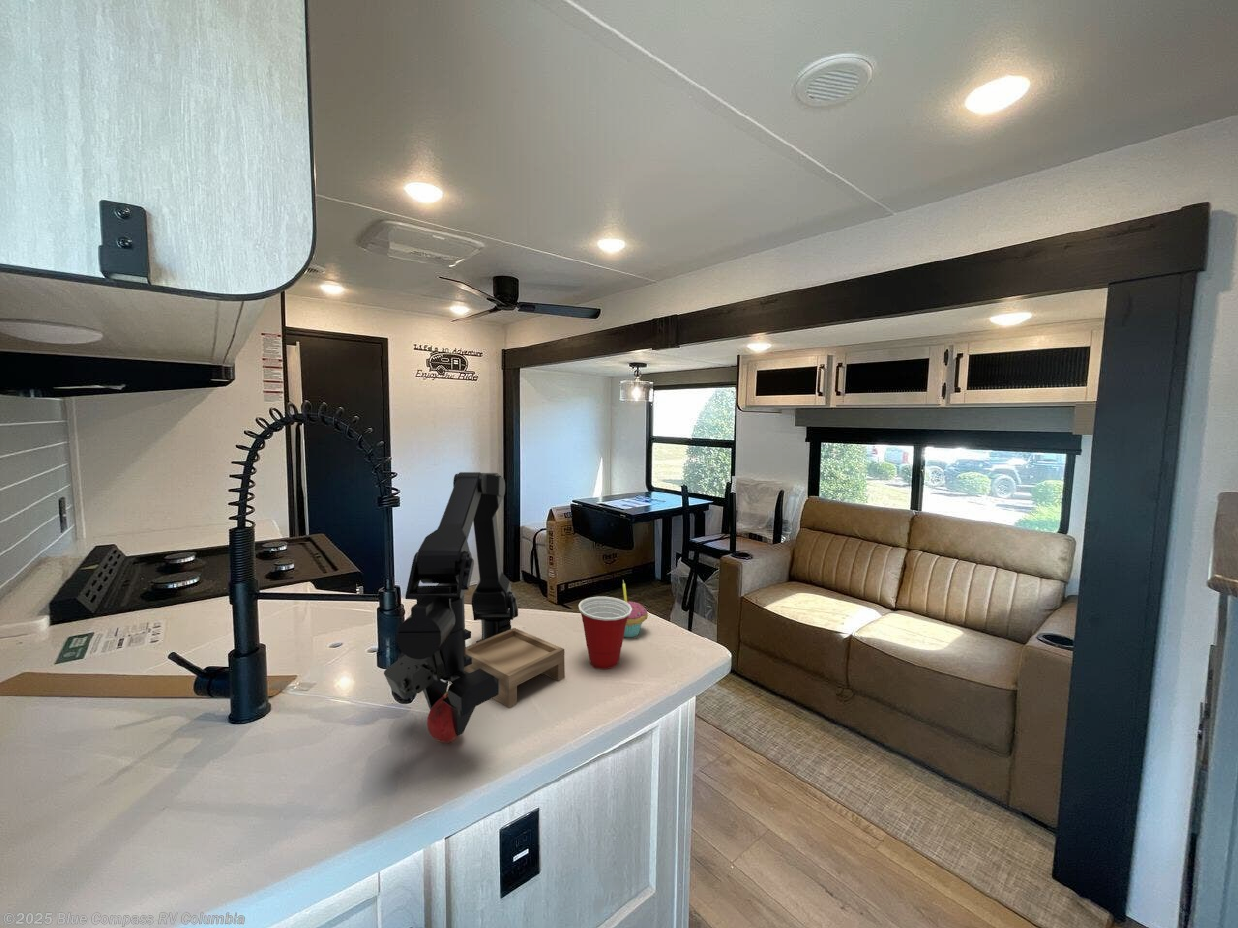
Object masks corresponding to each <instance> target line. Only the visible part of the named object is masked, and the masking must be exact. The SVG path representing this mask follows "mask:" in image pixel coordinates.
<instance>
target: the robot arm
mask: <svg viewBox="0 0 1238 928" xmlns="http://www.w3.org/2000/svg"><path fill="white" fill-rule="evenodd" d="M452 482H453V483H452V484H453V488H452V491H451V492H450V495H449V499H448V502H447V503H446V506H445V509H444V511H443V515H442V516H441V517H442V518H441V520H440V522H439V524H438V527H437V529H435V530H434V531H432V532H430V534H428V535H426V536H425V537H424V539H423V541H422V542H421V544H420V547H419V548H418V550H417V552H416V553H415V554H414V556H413V559H412V564H411V567H410V573H409V578H408V582H407V586H406V587H407V588H406V592H405V596H404V597H405V600H416V603H415V604H414V605H412V607H411V608H410V615H409V616H408V617H407V618H406V619H405V620H404V621H403V622H402V623H401V624H400V626H399V627H398V630H397V633H396V636H395V637H396V638H395V639H396V644H397V646H398V648H399V650H400V654H399V655H398V657H397V660H396V661H394V663H392V664H391V665H390V666H388V667H386V669H385V670H384V671H383V675H384V676H385V680H386V681H387V683H388V685H389V687H390V689H391V692H393V693H395V694H397V696H399V697H400V698H401V699H403V700H407V699H411V698H412V697H413V696H415V695H416V694H421V693H423V695H424V698H425V699H426V703H427V705H428V708H429V711H430V710H431V708H432V706H433V705H434V704H435V703H436V702H437V701H438V700H439V699H440V698H442V697H443V695H444V694H445V693H446V691H448V697H446V698H444V699H442V701H443V702H444V703H446V704H447V705H449V706H450V707H451V711H452V717H453V724H454V730H455V734H456V735H457V736H458V737H459V736H461V735H462V734H464V732H465V730H466V728H467V725H468V723H469V721H470V719H471V717H472V714H473V713H474V711H475V709H476V707H478V706H479V705H481V704H483V703H485V702H486V701H488V700H490V699H493V697H495V696H497V695H499V679H498V678H496V677H495V676H493V675H491V674H489V673H487V672H486V671H484V670H482V669H478V670H475V671H473V672H471V673H468V672H466V671H464V667H466V666H468V665H471V664H472V657H470V656H468V655H466V647H467V645H466V640H469V639H472V631H470V629H467V628H466V618H465V617H466V615H465V614H466V613H465V612H466V611H465V595H466V591H467V590H468V591H469V590H470V585H471V579H472V575H473V571H474V565H475V560H474V558H473V556H472V553H471V551H470V547H469V543H468V540H469V536H470V533H471V530H472V526H473V531H474V539H475V540H474V541H475V548H476V550H475V551H476V557H477V568H478V575H479V579H478V581H477V584H476V586H475V589H474V590H473V593H472V596H471V609H472V616H473V621H479V620H480V621H481V639H479V640H476V641H475V643H478V642H480V641H483V640H485V639H488V638H490V637H493V636H495V635H497V634H500V633H502V632H505V631H507V630H510V629H512V625H511V623H512V622H511V621H514V619H515V618H517V617H519V606H518V600H517V598H516V596H515V592H514V591H512V587H511V580H510V579H508V577H507V575H505V574H504V573H503V571H502V562H501V561H502V560H501V552H500V551H501V550H500V540H499V539H500V538H499V527H498V518H497V517H498V516H497V512H498V510H499V508H500V506H501V504H502V502H503V500H504V497H505V493H506V482H505V478H503V477H502V475H500V474H499V473H498V472H481V471H477V472H476V471H475V472H474V471H467V472H466V471H465V472H464V471H462V472H461V471H460V472H458V473H455V474H454V477H453V481H452ZM420 583H422V584H437V585H420ZM449 682H450V685H449ZM448 685H449V686H448Z"/></svg>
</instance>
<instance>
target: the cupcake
mask: <svg viewBox="0 0 1238 928" xmlns="http://www.w3.org/2000/svg"><path fill="white" fill-rule="evenodd" d="M626 587H627V586H626V583H625V581H624V579H622V593H623V601H625V602H627V603H628V604H630V606H631V608H632V611H631V613H630V615H629V616H628V619H627V622H626V626H625V631H624V637H623V638H634V637H636V636H638V635H639V632H640V629H641V627H642V624H643V623H644V622H645V621H646V620H648V618H649V617H648V614H649V613H648V611H647V608H645V607H644V605H642V604H640V603H638V602H635V601H629V600H628V597H627V589H626Z"/></svg>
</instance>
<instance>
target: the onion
mask: <svg viewBox="0 0 1238 928" xmlns="http://www.w3.org/2000/svg"><path fill="white" fill-rule="evenodd" d="M446 697H448V690H447V691H446V693H445V694H444V695H443V697H442V698H440V699H439V700H438V701H437V702H436V703H435V704H434V705H433V706H432V708H431V710H430V709H429V712H428V715H427V720H426V721H427V722H426V724H427V730H428V733H429V735H430V736H431V737H432V738H433V739H434V740H437V741H439V742H441V743H452V742H453V741H454V740H455V739H456V738H458V737H459V736H457V735H456V734H455V730H454V724H453V717H452V711H451V707H450V706H449V705H447V704H446V703H444V702H443V701H442V699H444V698H446Z"/></svg>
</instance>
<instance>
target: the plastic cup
mask: <svg viewBox="0 0 1238 928" xmlns="http://www.w3.org/2000/svg"><path fill="white" fill-rule="evenodd" d="M578 610H579V612H580V614H581V615H580V616H581V618H582V624H583V630H584V637H585V643H586V647H587V652H588V657H589V658H588V659H589V662H590V665H592V667H593V668H596V669H602V670H606V669H612V668H615V667H616V666H617V665H618V663H619V660H620V657H621V650H622V646H623V642H624V638H625V637H624V631H625V626H626V622H627V619H628V616H629V615H630V613H631V611H632V608H631V606H630V604H628V603H627V602H625V601H624V599H623V600H622V599H620V598H617V597H611V596H610V597H609V596H593V597H587V598H585V599H582V600H581V601H580V602H579V604H578Z"/></svg>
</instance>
